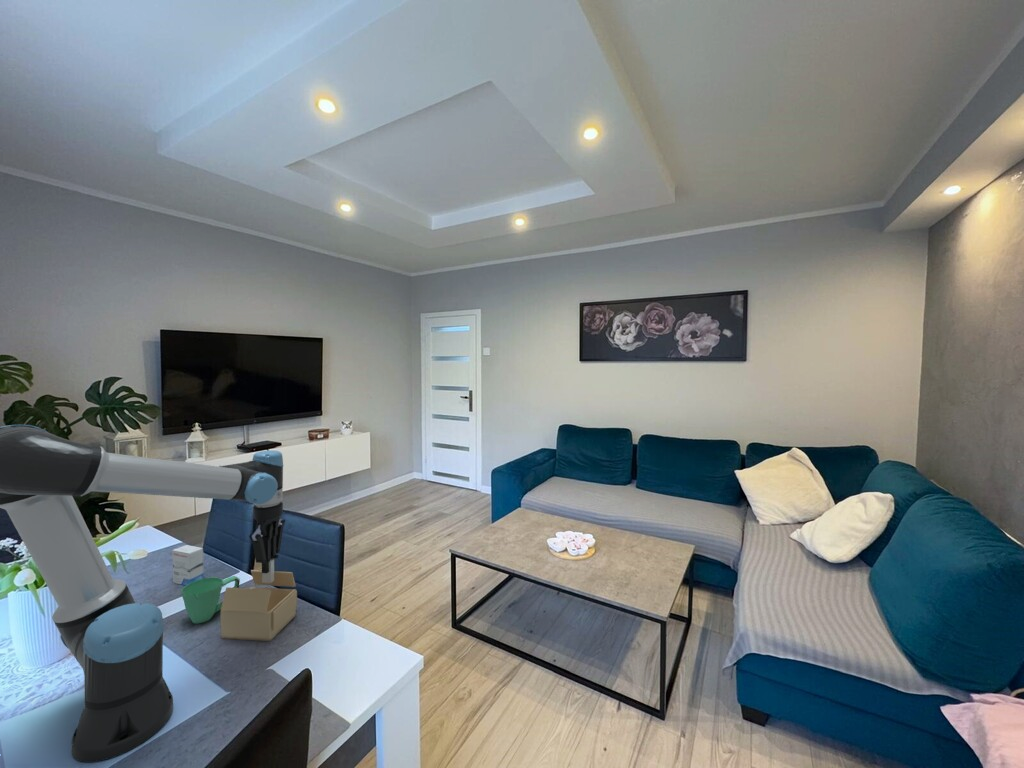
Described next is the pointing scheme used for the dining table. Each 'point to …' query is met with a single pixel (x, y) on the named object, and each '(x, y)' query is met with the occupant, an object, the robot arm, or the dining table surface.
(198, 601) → the mug
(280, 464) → the robot arm
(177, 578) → the ink box
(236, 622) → the carton
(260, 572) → the flap far
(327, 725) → the dining table surface
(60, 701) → the dining table surface
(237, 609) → the flap near
